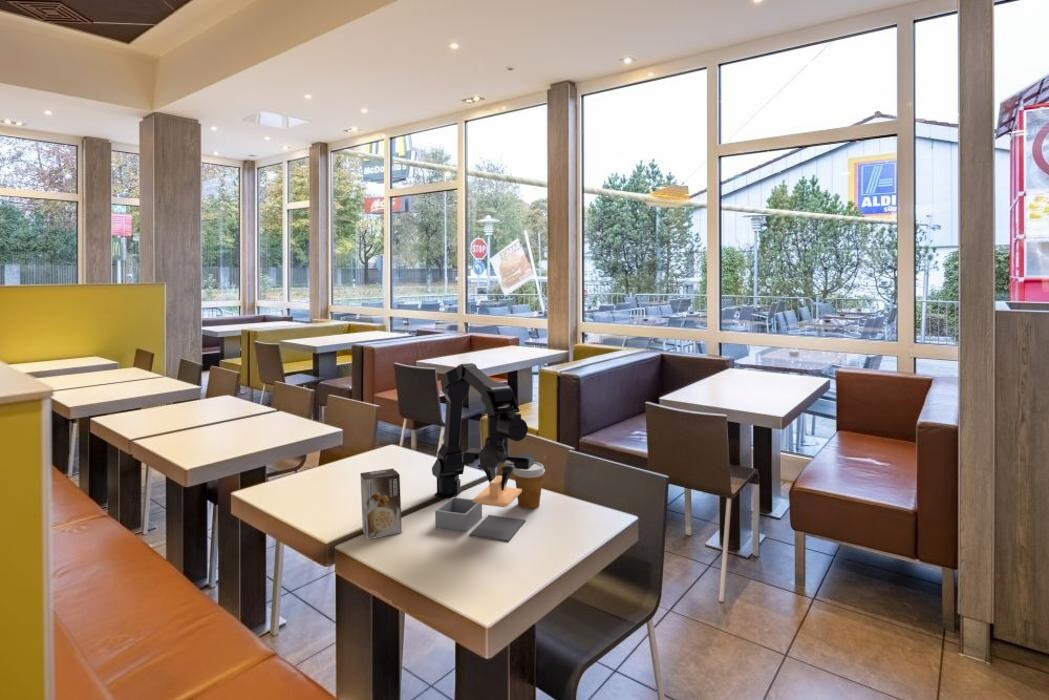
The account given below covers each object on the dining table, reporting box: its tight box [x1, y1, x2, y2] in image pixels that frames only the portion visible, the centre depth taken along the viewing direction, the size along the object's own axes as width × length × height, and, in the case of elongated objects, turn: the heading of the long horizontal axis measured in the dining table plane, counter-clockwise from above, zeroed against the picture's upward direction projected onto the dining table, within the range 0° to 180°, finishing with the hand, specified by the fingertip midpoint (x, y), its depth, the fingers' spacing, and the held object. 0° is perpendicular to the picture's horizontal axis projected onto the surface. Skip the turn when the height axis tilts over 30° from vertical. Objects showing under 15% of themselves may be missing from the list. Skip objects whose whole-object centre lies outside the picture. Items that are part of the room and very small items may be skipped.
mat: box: [468, 514, 527, 543], centre depth 160 cm, size 11×14×1 cm
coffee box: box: [360, 468, 403, 539], centre depth 157 cm, size 9×6×16 cm
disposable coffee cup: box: [512, 461, 546, 510], centre depth 176 cm, size 10×10×12 cm
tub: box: [434, 496, 483, 534], centre depth 163 cm, size 9×11×5 cm
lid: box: [472, 475, 522, 508], centre depth 159 cm, size 10×12×6 cm
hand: (498, 489), depth 159 cm, fingers closed on lid, 2 cm apart
